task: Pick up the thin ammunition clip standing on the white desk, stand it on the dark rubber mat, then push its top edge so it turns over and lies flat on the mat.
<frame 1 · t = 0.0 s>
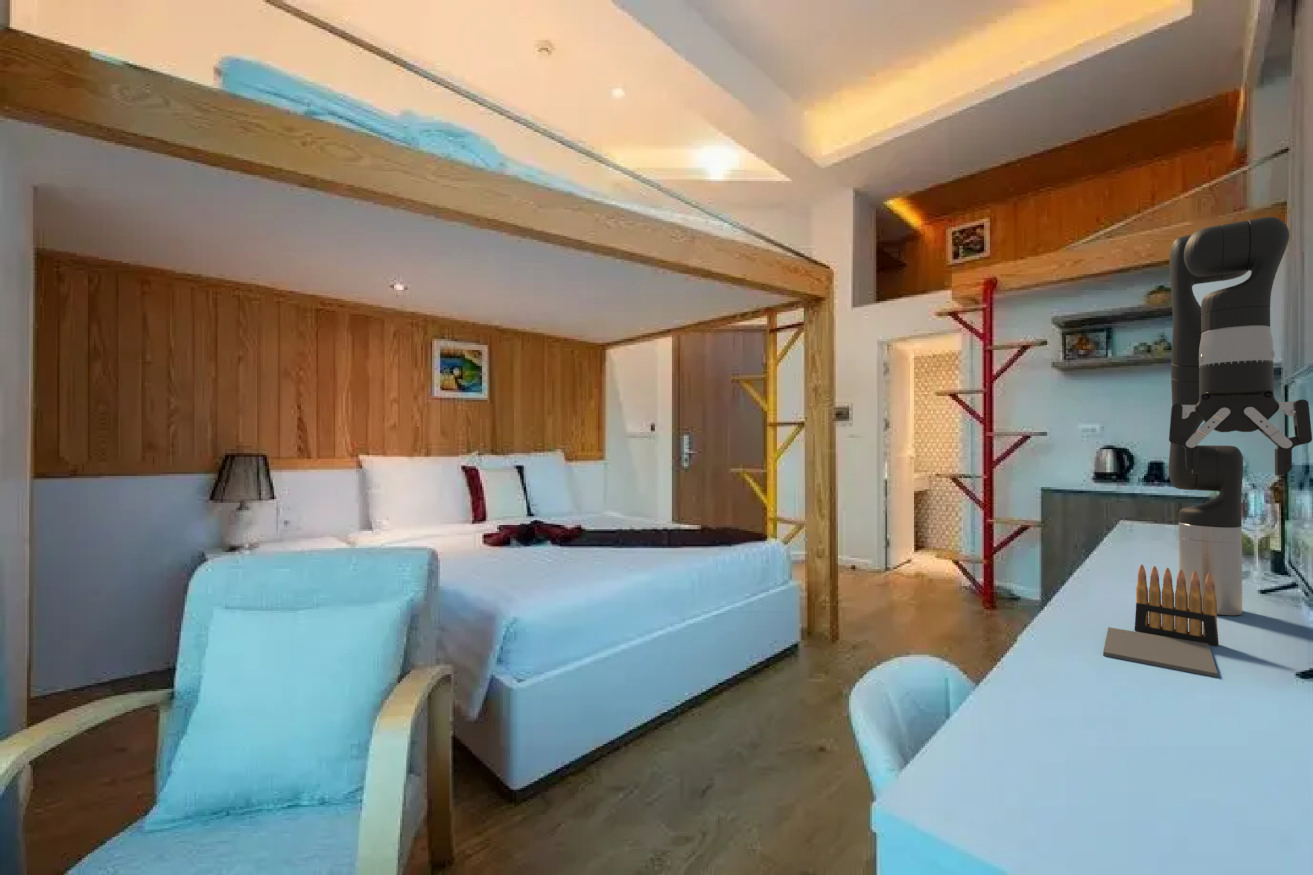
hand: (1236, 474, 82), 29 cm above the table, tool pointing down, fingers open, 8 cm apart
ammunition clip: (1175, 638, 100), on the table
mat: (1156, 651, 93), on the table
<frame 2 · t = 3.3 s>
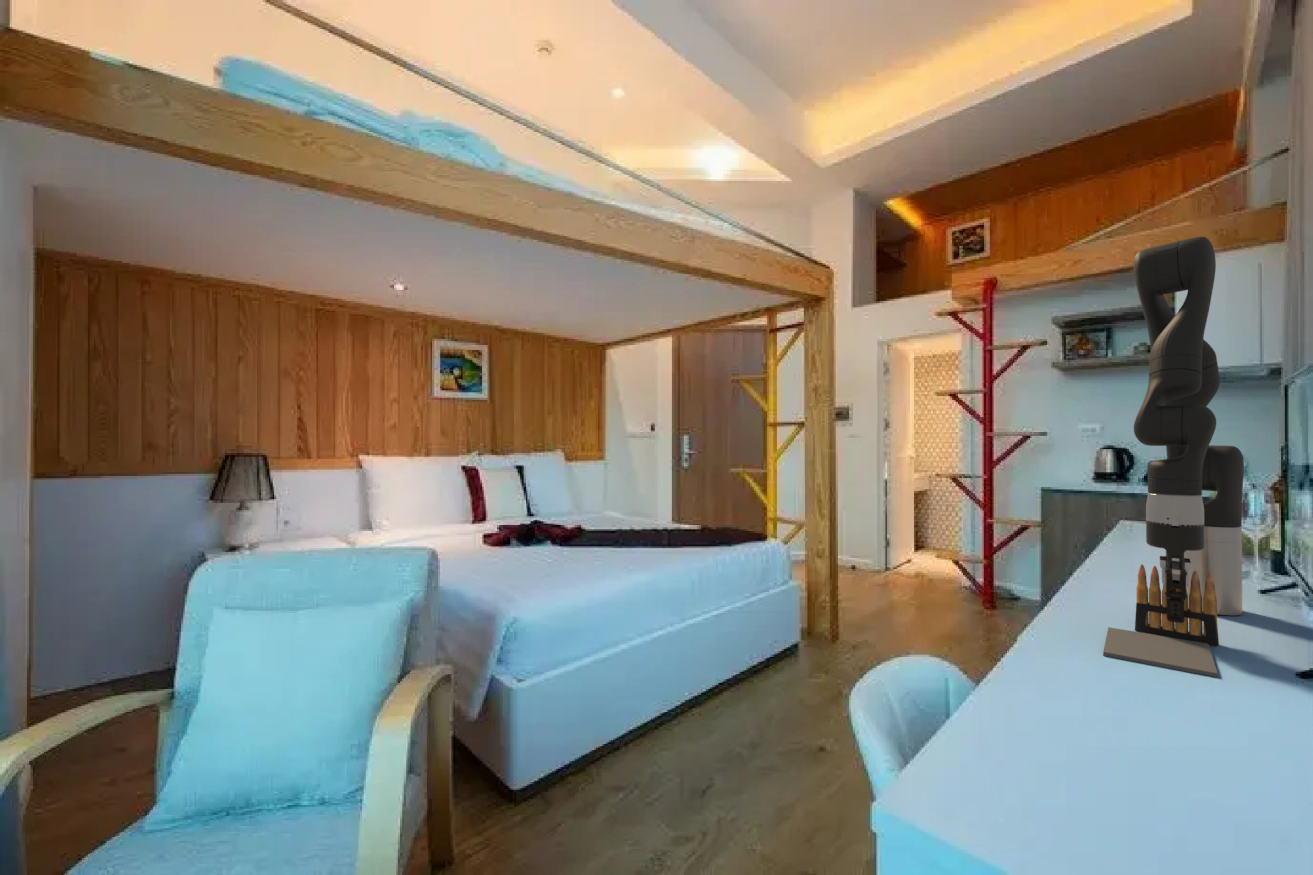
hand: (1175, 619, 100), 3 cm above the table, tool pointing down, fingers closed on ammunition clip, 2 cm apart
ammunition clip: (1175, 638, 100), on the table, touching gripper
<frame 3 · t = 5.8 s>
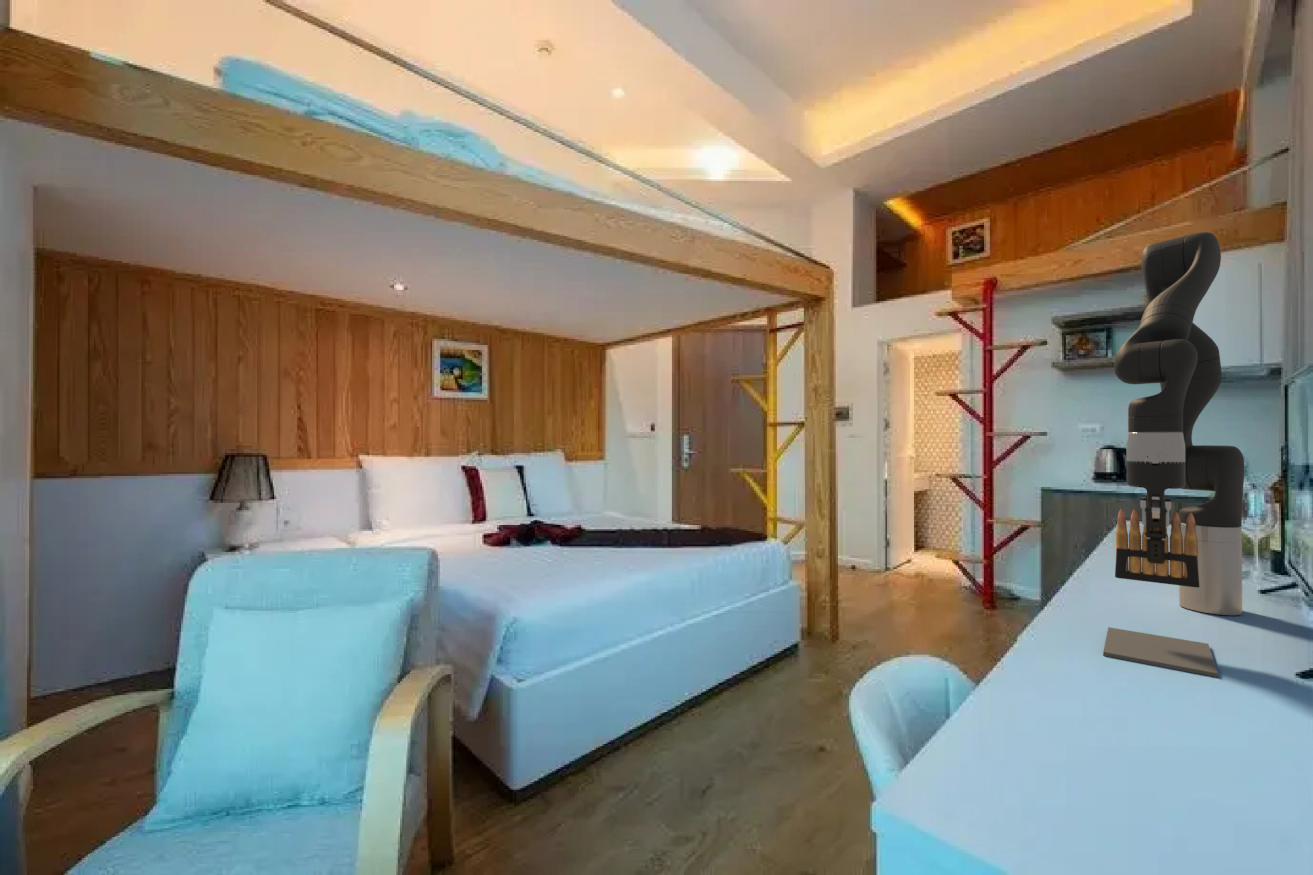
hand: (1155, 561, 97), 14 cm above the table, tool pointing down, fingers closed on ammunition clip
ammunition clip: (1155, 582, 97), point 10 cm above the table, touching gripper
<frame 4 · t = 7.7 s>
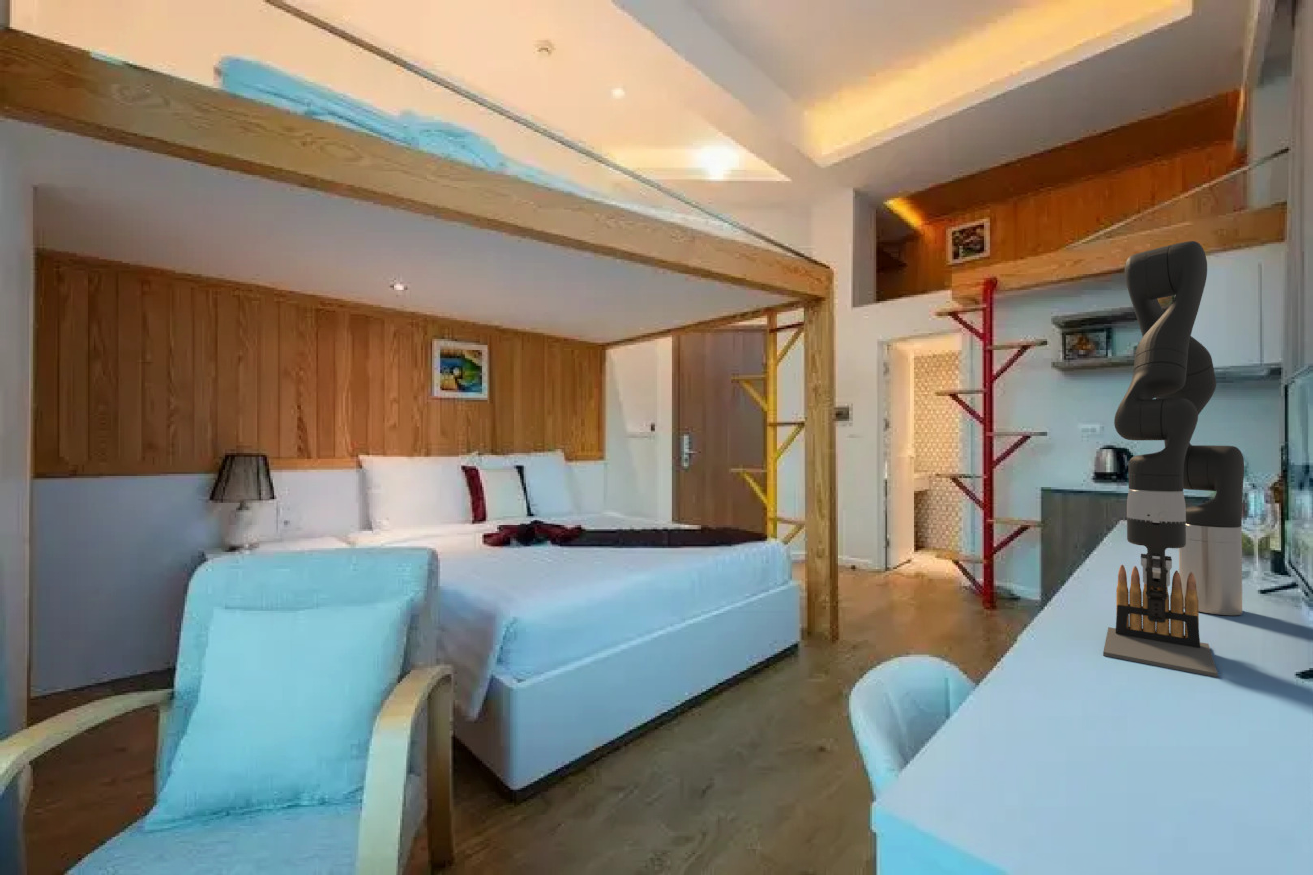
hand: (1156, 618, 97), 4 cm above the table, tool pointing down, fingers closed
ammunition clip: (1156, 640, 97), resting on mat
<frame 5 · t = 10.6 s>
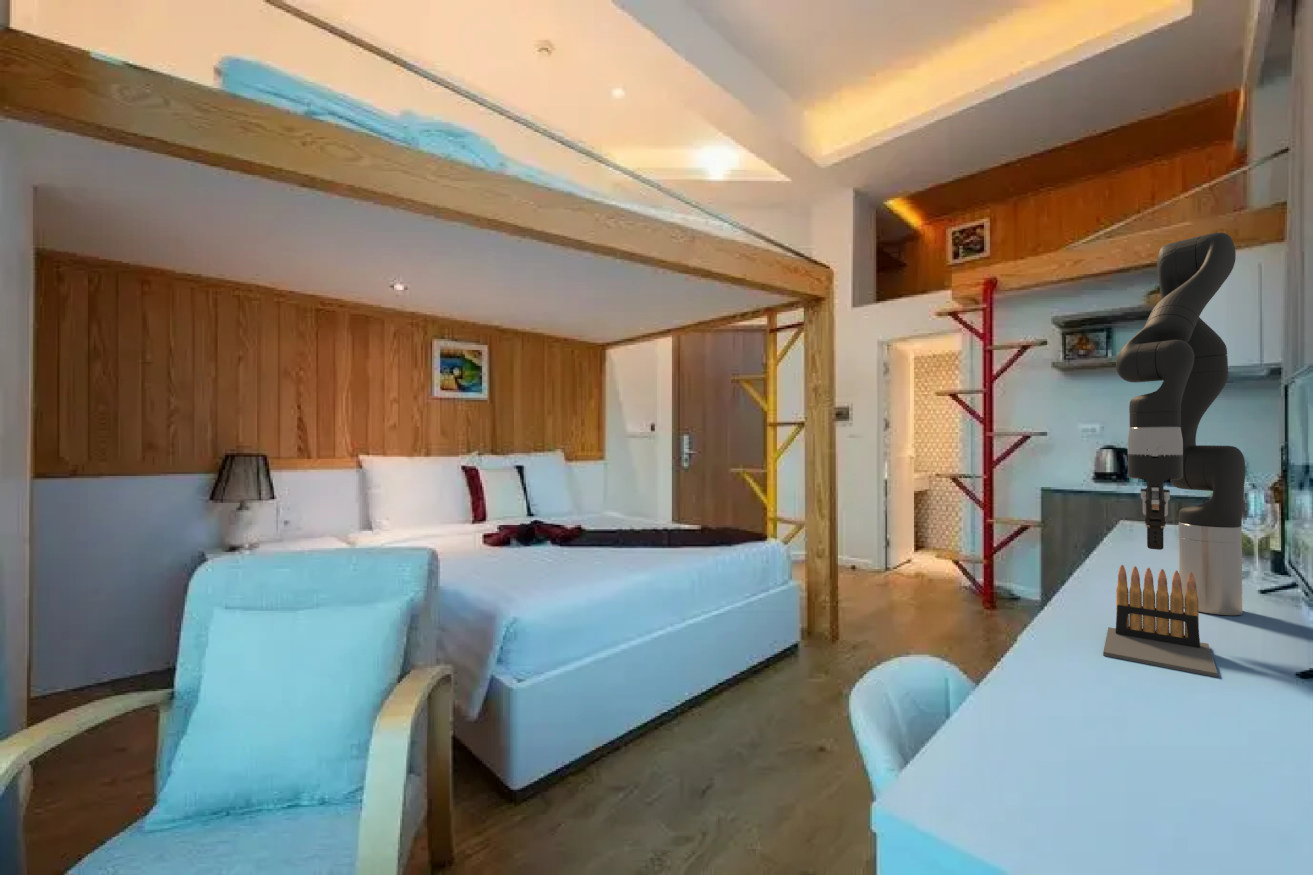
hand: (1155, 548, 103), 15 cm above the table, tool pointing down, fingers closed
nothing on the table moved.
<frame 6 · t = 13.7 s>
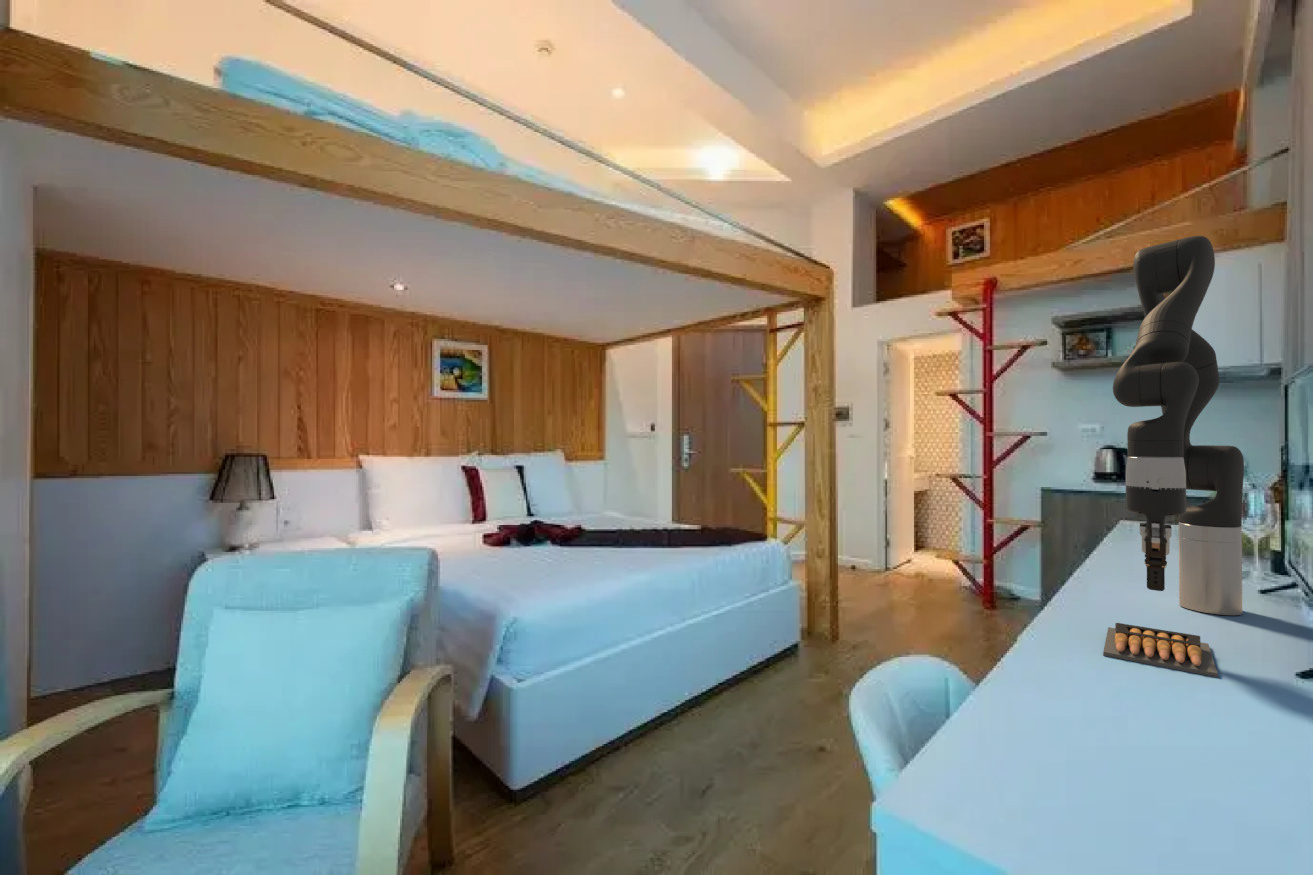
hand: (1155, 589, 94), 10 cm above the table, tool pointing down, fingers closed
ammunition clip: (1156, 634, 96), point 2 cm above the table, touching mat
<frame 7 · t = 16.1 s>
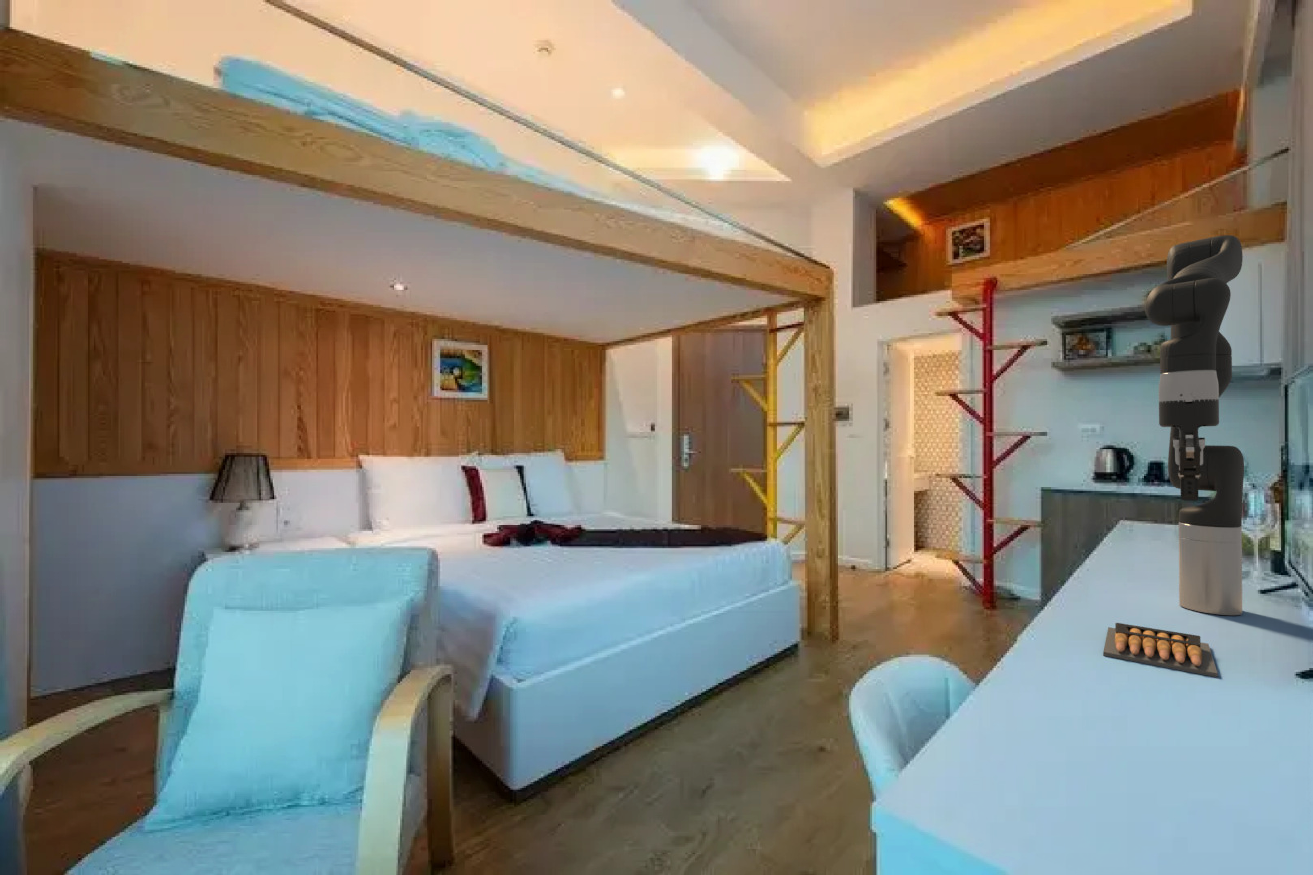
hand: (1189, 500, 98), 24 cm above the table, tool pointing down, fingers closed
nothing on the table moved.
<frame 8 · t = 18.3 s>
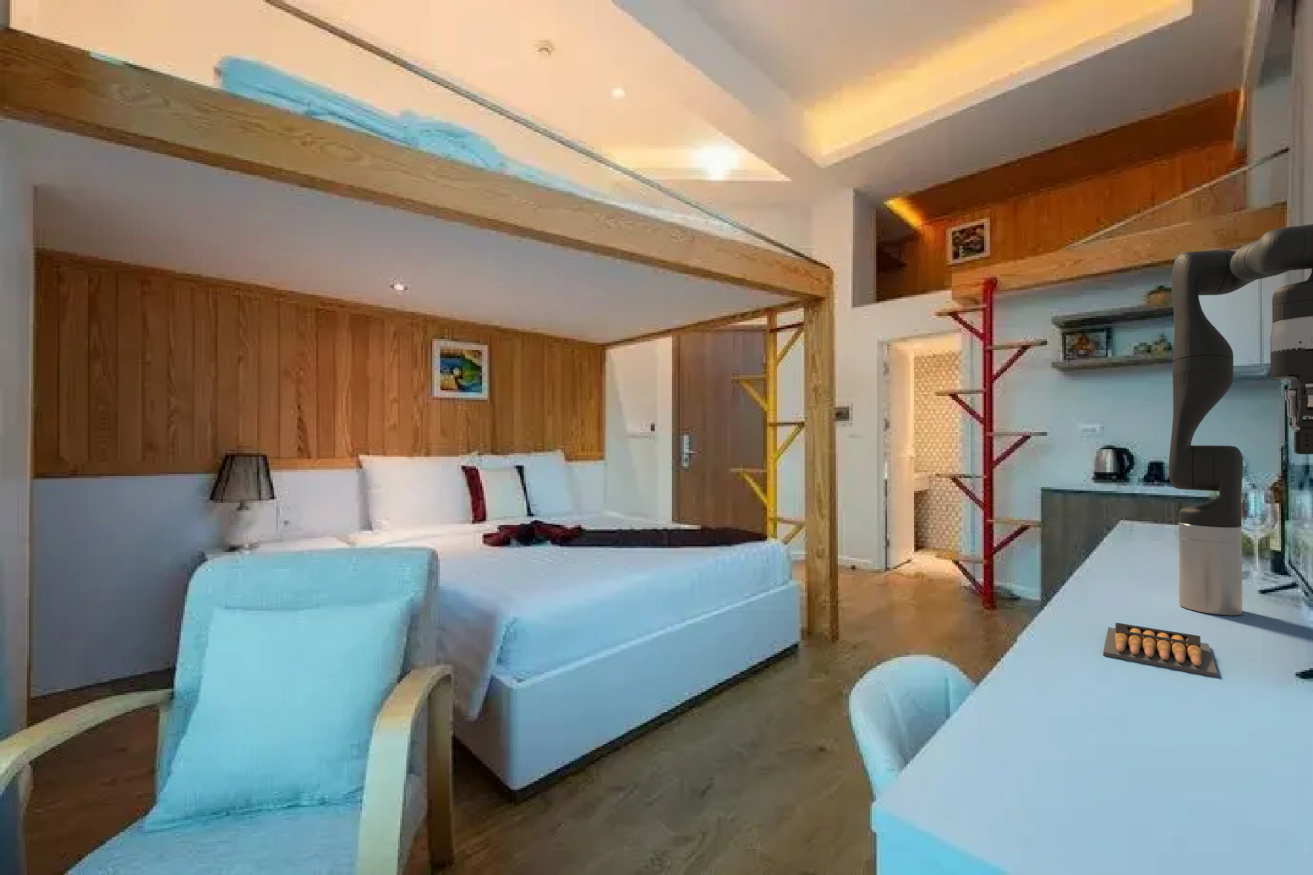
hand: (1305, 454, 93), 32 cm above the table, tool pointing down, fingers closed
nothing on the table moved.
at the end: ammunition clip tilted 92°; ammunition clip inside the target area (4.2 cm from its centre), point 1.7 cm above the table; the gripper is holding nothing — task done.
